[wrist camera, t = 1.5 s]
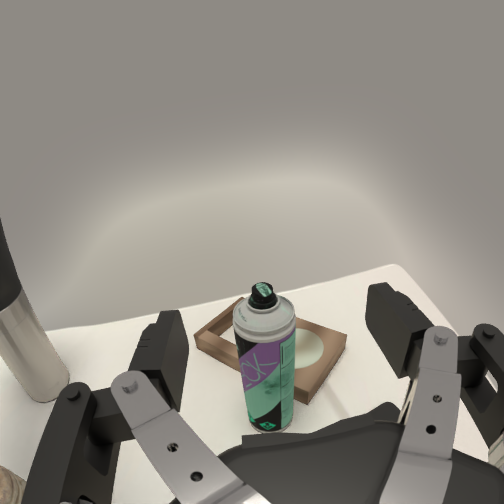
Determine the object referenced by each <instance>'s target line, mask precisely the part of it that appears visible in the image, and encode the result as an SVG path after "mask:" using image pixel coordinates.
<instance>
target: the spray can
mask: <svg viewBox="0 0 504 504" xmlns="http://www.w3.org/2000/svg"><path fill="white" fill-rule="evenodd" d="M233 327H234V333H235V340H236V346H237V352H238V358H239V364H240V370H241V376H242V382H243V388H244V393H245V399H246V405H247V410H248V416H249V421H250V423H251V425H252V427H253V428H254V429H255V430H257V431H259V432H261V433H272V432H282V431H283V430H285V429H286V428H287V427H288V426H289V425H290V423H291V421H292V416H293V397H294V373H295V339H296V316H295V310H294V306H293V304H292V303H291V302H290V301H289V300H288V299H286V298H284V297H282V296H279V295H277V294H275V293H273V287H272V285H270V284H268V283H265V282H261V283H257V284H255V285H254V286H253V287H252V294H251V295H250V296H249V297H247V298H245V299H243V300H241V301H240V302H239V303H238V304H237V305H236V306H235V308H234V310H233Z"/></svg>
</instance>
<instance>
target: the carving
mask: <svg viewBox="0 0 504 504" xmlns="http://www.w3.org/2000/svg"><path fill="white" fill-rule="evenodd" d="M26 483H27V482H26V481H24V480H23V479H21V478H20V477H19V476H17V475H15V474H14V473H13V472H11V471H10V470H8V469H6V468H5V467H2V466H0V504H21V501H22V497H23V493H24V490H25V486H26Z"/></svg>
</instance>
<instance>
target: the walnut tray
mask: <svg viewBox="0 0 504 504" xmlns="http://www.w3.org/2000/svg"><path fill="white" fill-rule="evenodd" d="M243 299H245V298H243V297H241V298H239V299H238V300H237V301H236V302H234V303H233V304H232V305H231V306H229V307H228V308H227V309H226V310H224V311H223V312H222V313H221V314H219V315H218V316H217V317H215V318H214V319H213V320H212V321H210V322H209V323H208V324H207V325H205V326H204V327H203V328H201V329H200V330H199V331H198V332H196V333H195V334H194V338H195V342H196V346H197V348H198V349H200V350H201V351H203V352H205V353H206V354H208V355H210V356H212V357H213V358H215V359H217V360H219V361H221V362H222V363H224V364H226V365H228V366H230V367H231V368H233V369H235V370H237V371H239V372H241V370H240V364H239V358H238V352H237V346H236V345H235V344H233V343H231V342H229V341H227V340H225V339H223V338H221V337H219V336H220V335H221V334H222V333H223V332H224V331H226V330H227V329H228V328H229V327H230V326H231V325H233V310H234V308H235V306H236V305H237V304H238V303H239V302H240V301H241V300H243ZM346 339H347V334H343V333H341V332H338V331H335V330H332V329H329V328H326V327H323V326H320V325H317V324H314V323H311V322H308V321H306V320H303V319H300V318H297V317H296V339H295V373H294V397H293V399H296V400H298V401H300V402H302V403H304V404H308V403H309V402H310V400H311V399H312V397H313V396H314V395H315V393H316V392H317V390H318V389H319V387H320V386H321V385H322V383H323V382H324V380H325V379H326V377H327V376H328V374H329V373H330V371H331V370H332V368H333V366H334V365H335V363H336V362H337V360H338V359H339V357H340V355H341V354H342V352H343V351H344V349H345V344H346Z"/></svg>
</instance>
